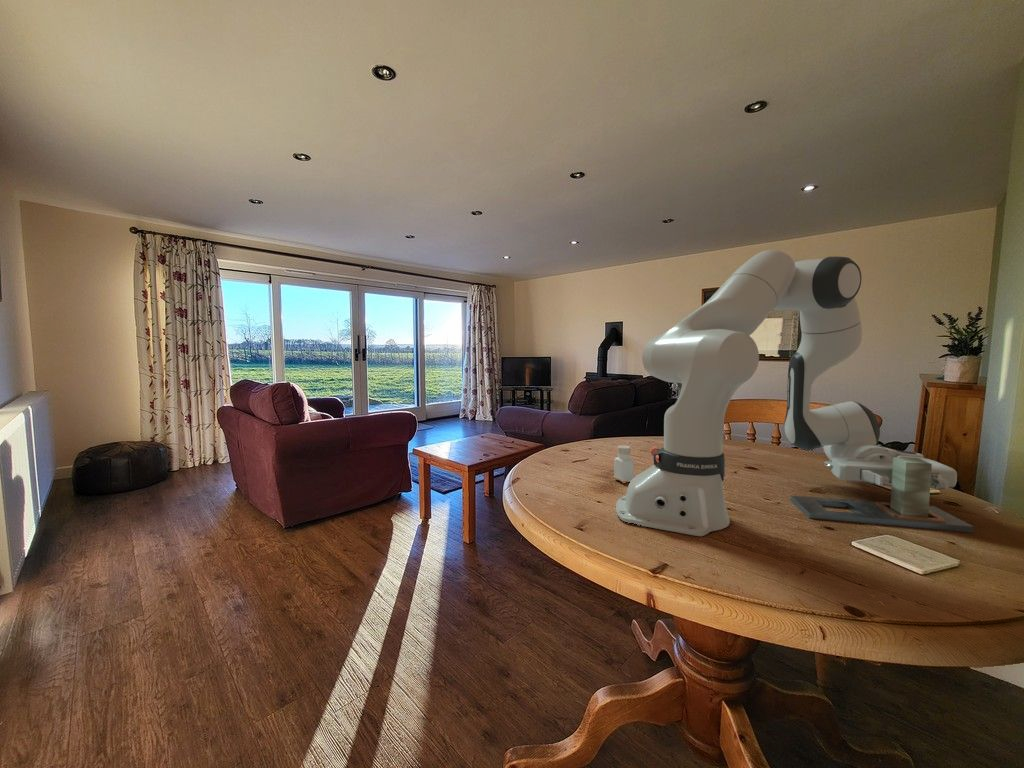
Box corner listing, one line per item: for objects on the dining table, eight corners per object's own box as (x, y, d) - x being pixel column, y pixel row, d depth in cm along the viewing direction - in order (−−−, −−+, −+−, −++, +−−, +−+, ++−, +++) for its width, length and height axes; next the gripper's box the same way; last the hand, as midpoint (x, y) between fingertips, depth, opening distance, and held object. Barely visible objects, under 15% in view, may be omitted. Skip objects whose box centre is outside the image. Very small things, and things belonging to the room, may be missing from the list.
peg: (902, 521, 78) (906, 462, 77) (889, 513, 82) (893, 457, 81) (927, 523, 77) (931, 463, 76) (913, 515, 81) (917, 458, 80)
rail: (809, 518, 80) (809, 511, 80) (790, 500, 90) (790, 494, 90) (973, 532, 73) (974, 525, 73) (933, 511, 82) (934, 504, 82)
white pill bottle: (634, 482, 104) (634, 447, 104) (622, 484, 103) (622, 449, 102) (625, 478, 108) (625, 444, 107) (613, 480, 107) (613, 445, 106)
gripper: (820, 448, 94) (851, 464, 81) (928, 453, 88) (980, 471, 75) (819, 474, 95) (850, 494, 81) (926, 480, 89) (978, 503, 75)
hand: (913, 483), depth 78 cm, fingers open, 8 cm apart
